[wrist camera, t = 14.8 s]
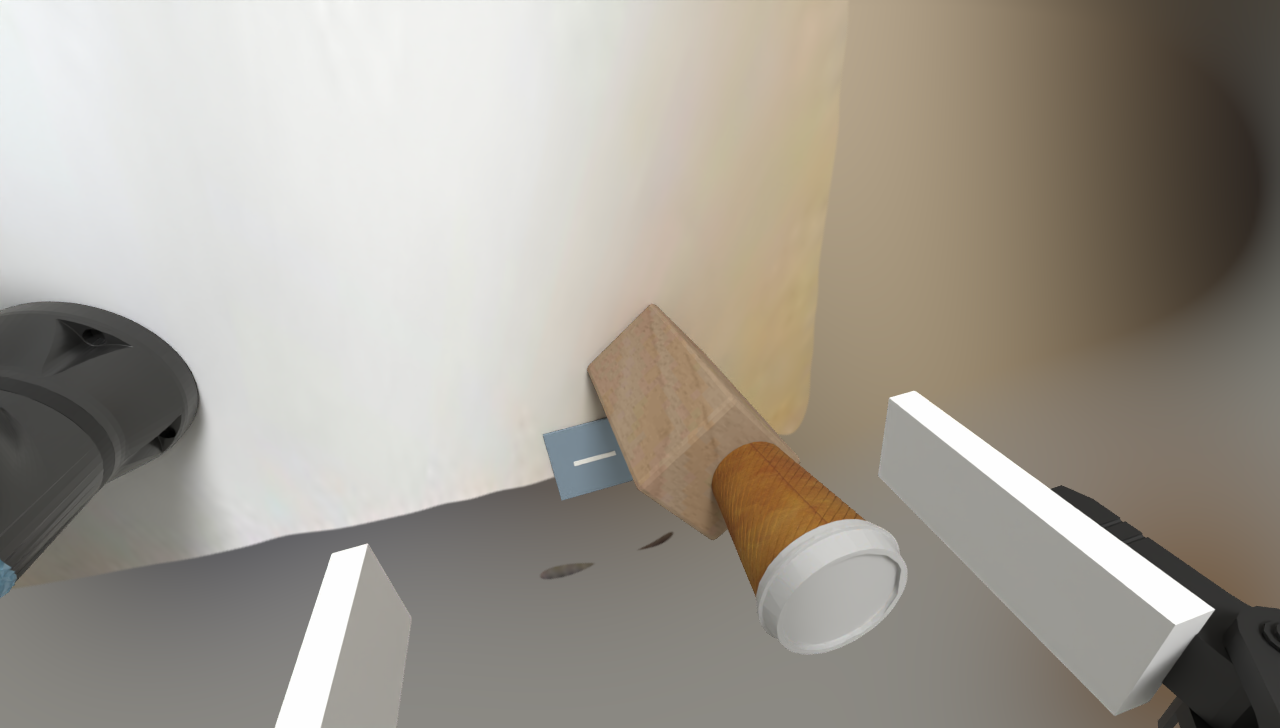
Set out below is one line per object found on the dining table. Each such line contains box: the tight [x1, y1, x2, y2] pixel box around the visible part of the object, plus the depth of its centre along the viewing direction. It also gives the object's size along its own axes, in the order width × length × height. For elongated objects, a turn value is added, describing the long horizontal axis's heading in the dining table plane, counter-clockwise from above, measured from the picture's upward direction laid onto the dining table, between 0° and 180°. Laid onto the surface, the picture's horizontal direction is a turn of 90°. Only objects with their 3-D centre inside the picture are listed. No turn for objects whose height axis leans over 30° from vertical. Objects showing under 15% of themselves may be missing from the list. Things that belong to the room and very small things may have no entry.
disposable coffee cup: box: [712, 441, 907, 655], centre depth 35 cm, size 10×10×12 cm
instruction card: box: [543, 418, 633, 500], centre depth 61 cm, size 18×10×1 cm, turn 98°
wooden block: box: [587, 304, 800, 540], centre depth 48 cm, size 10×10×20 cm
